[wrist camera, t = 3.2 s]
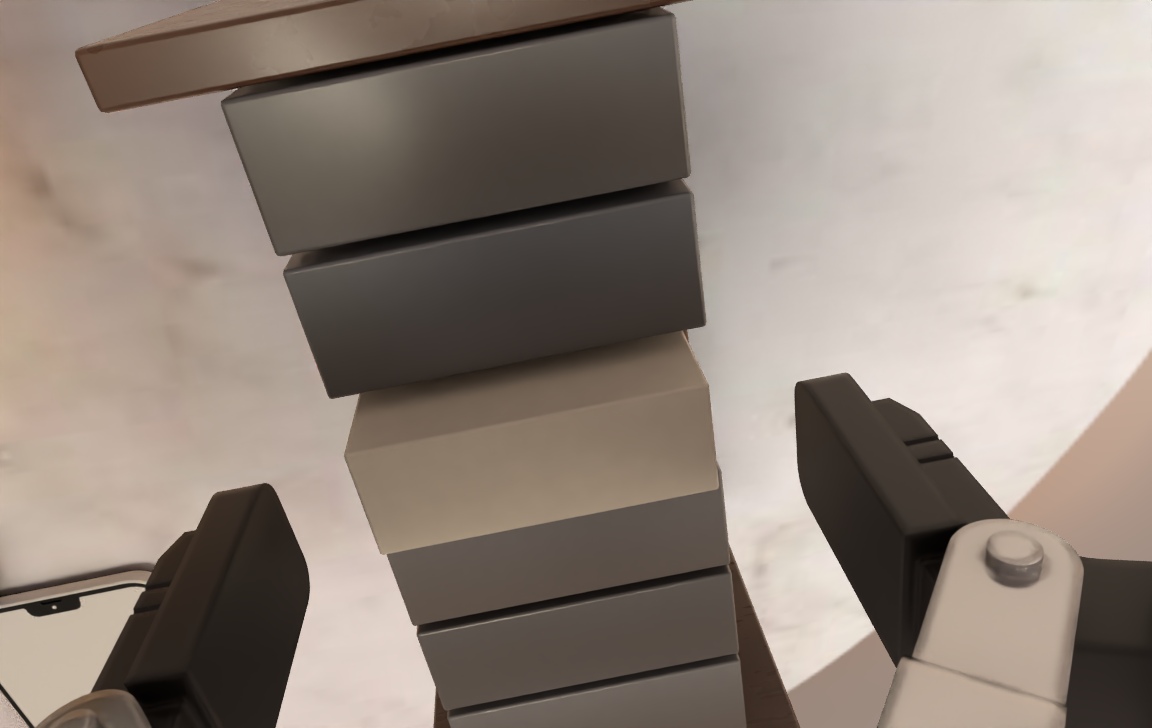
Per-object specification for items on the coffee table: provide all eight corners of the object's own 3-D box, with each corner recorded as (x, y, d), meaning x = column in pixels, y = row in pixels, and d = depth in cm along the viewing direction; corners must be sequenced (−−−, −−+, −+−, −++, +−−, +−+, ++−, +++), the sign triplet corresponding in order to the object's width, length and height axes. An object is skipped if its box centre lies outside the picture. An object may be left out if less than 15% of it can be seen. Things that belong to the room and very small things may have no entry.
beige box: (407, 203, 23) (341, 455, 12) (604, 165, 23) (708, 384, 12) (426, 270, 24) (380, 556, 13) (615, 233, 24) (719, 490, 13)
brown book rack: (279, -21, 21) (69, 50, 10) (633, -89, 21) (788, -88, 10) (451, 529, 29) (433, 870, 19) (700, 480, 29) (819, 794, 19)
